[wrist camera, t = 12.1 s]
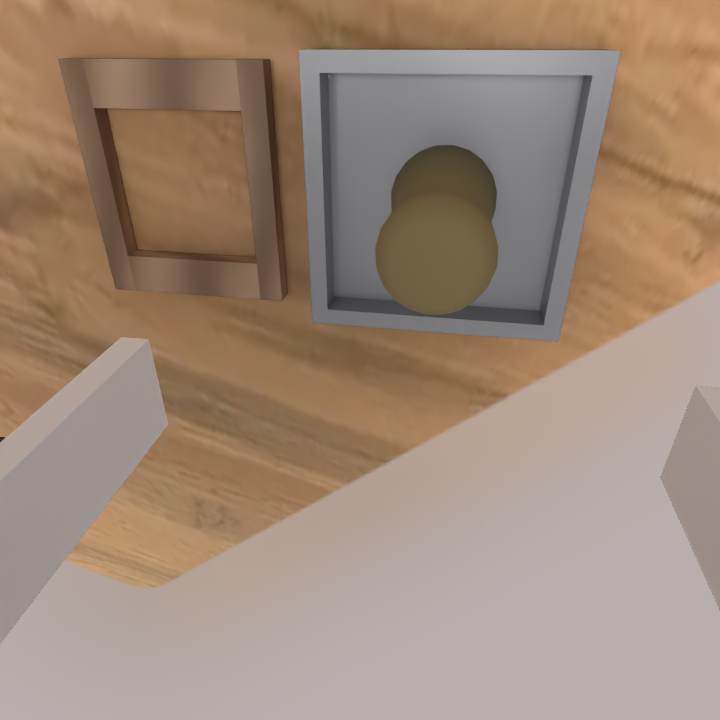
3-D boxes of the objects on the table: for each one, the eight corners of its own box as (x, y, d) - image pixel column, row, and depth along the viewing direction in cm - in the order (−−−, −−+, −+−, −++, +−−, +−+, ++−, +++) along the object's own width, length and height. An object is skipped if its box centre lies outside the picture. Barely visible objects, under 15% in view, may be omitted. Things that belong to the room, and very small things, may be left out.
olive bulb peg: (514, 222, 31) (535, 302, 22) (419, 267, 33) (402, 356, 24) (469, 122, 29) (472, 162, 19) (372, 178, 31) (332, 237, 22)
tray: (323, 303, 37) (312, 322, 34) (313, 48, 29) (298, 49, 26) (551, 319, 34) (558, 341, 32) (606, 49, 27) (620, 50, 24)
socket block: (125, 282, 38) (115, 289, 37) (71, 58, 31) (58, 58, 30) (287, 293, 37) (282, 301, 36) (269, 59, 30) (262, 59, 29)
